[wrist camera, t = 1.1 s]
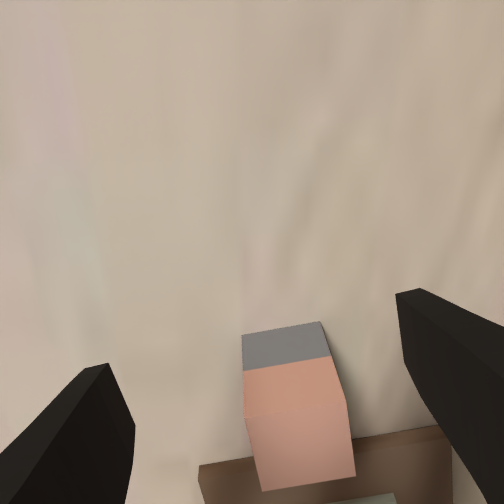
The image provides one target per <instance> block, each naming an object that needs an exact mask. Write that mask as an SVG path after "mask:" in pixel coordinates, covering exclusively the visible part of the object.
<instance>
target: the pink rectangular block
mask: <svg viewBox="0 0 504 504" xmlns="http://www.w3.org/2000/svg"><path fill="white" fill-rule="evenodd" d="M242 359H243V388H244V417H245V422H246V427H247V431H248V435H249V439H250V443H251V447H252V452H253V456H254V460H255V464H256V468H257V472H258V477H259V481H260V485H261V489H262V492H264V491H270V490H276V489H282V488H288V487H294V486H300V485H306V484H312V483H318V482H324V481H330V480H336V479H342V478H348V477H354V476H356V472H355V464H354V457H353V449H352V442H351V434H350V427H349V419H348V412H347V404H346V399H345V396H344V393H343V390H342V387H341V384H340V381H339V378H338V375H337V372H336V369H335V366H334V363H333V360H332V356H331V353H330V350H329V347H328V344H327V341H326V338H325V335H324V332H323V329H322V326H321V323H320V321H318V322H312V323H307V324H301V325H296V326H290V327H284V328H279V329H273V330H268V331H262V332H256V333H251V334H245V335H242Z"/></svg>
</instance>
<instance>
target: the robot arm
mask: <svg viewBox="0 0 504 504" xmlns="http://www.w3.org/2000/svg"><path fill="white" fill-rule="evenodd" d="M395 296H396V304H397V311H398V319H399V327H400V334H401V342H402V349H403V357H404V363H405V365H406V367H407V369H408V372H409V374H410V376H411V378H412V380H413V382H414V384H415V386H416V388H417V390H418V392H419V394H420V396H421V398H422V400H423V401H424V403H425V405H426V406H427V408H428V409H429V411H430V412H431V414H432V415H433V417H434V419H435V420H436V422H437V423H438V425H439V426H440V428H441V429H442V431H443V432H444V434H445V435H446V437H447V439H448V440H449V442H450V443H451V445H452V446H453V448H454V449H455V451H456V452H457V454H458V455H459V457H460V458H461V460H462V462H463V463H464V465H465V466H466V468H467V469H468V471H469V472H470V474H471V475H472V477H473V479H474V480H475V482H476V484H477V485H478V487H479V489H480V490H481V492H482V494H483V496H484V498H485V499H486V501H487V503H488V504H504V327H503V326H501V325H498V324H496V323H494V322H491V321H489V320H487V319H485V318H482V317H480V316H478V315H476V314H474V313H472V312H469V311H467V310H465V309H463V308H461V307H459V306H457V305H455V304H453V303H451V302H449V301H447V300H445V299H443V298H441V297H439V296H436V295H434V294H432V293H430V292H428V291H426V290H424V289H421V288H418V289H414V290H410V291H405V292H401V293H397V294H395ZM135 426H136V425H135V423H134V421H133V418H132V416H131V414H130V411H129V409H128V407H127V405H126V402H125V400H124V398H123V395H122V393H121V391H120V388H119V386H118V384H117V381H116V379H115V377H114V374H113V372H112V370H111V367H110V365H109V363H105V364H101V365H97V366H93V367H88V368H85V369H84V370H82V371H81V372H80V373H79V374H78V375H77V376H76V377H75V378H74V379H73V380H72V381H71V382H70V383H69V384H68V385H67V386H66V387H65V388H64V389H63V390H62V391H61V392H60V393H59V394H58V395H57V397H56V398H55V399H54V400H53V401H52V402H51V403H50V404H49V405H48V406H47V407H46V408H45V409H44V410H43V411H42V412H41V413H40V414H39V416H38V417H37V418H36V419H35V420H34V421H33V422H32V423H31V424H30V425H29V426H28V427H27V428H26V429H25V430H24V431H23V432H22V433H21V434H20V435H19V436H18V437H17V438H16V439H15V440H14V441H13V442H12V443H11V444H10V445H9V446H8V447H7V448H6V449H5V450H4V451H3V452H1V453H0V504H125V499H126V495H127V490H128V485H129V480H130V476H131V471H132V465H133V456H134V443H135Z"/></svg>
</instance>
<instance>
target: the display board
mask: <svg viewBox="0 0 504 504" xmlns="http://www.w3.org/2000/svg"><path fill="white" fill-rule="evenodd" d="M351 442H352V449H353V457H354V464H355V472H356V476H354V477H348V478H342V479H336V480H330V481H324V482H318V483H312V484H306V485H300V486H294V487H288V488H282V489H276V490H270V491H264V492H262V489H261V485H260V481H259V477H258V472H257V468H256V464H255V460H254V457H248V458H242V459H236V460H230V461H224V462H218V463H213V464H207V465H201V466H199V474H198V482H199V485H200V488H201V492H202V495H203V498H204V501H205V504H453V486H452V450H451V443H450V442H449V440H448V439H447V437H446V435H445V434H444V432H443V431H442V429H441V428H440V426H439V425H436V426H430V427H424V428H418V429H412V430H406V431H401V432H395V433H389V434H383V435H377V436H371V437H365V438H359V439H354V440H351Z"/></svg>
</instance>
